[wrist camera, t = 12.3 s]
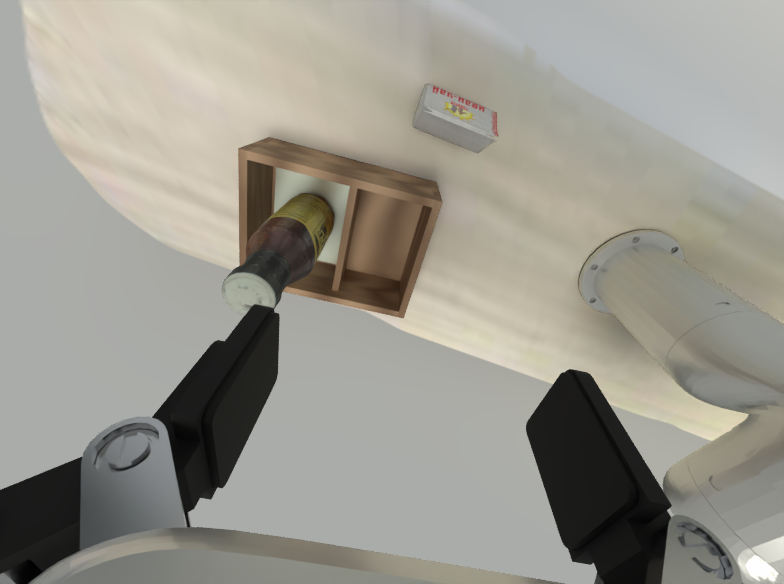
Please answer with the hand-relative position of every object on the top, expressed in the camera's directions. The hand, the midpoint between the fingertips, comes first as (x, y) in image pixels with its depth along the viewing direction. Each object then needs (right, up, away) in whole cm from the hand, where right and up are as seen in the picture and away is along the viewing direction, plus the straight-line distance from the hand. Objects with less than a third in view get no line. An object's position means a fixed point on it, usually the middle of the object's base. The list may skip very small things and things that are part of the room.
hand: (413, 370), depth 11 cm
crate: (-7, +12, +31) cm, 34 cm away
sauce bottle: (-11, +13, +30) cm, 34 cm away
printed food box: (+5, +22, +25) cm, 33 cm away
